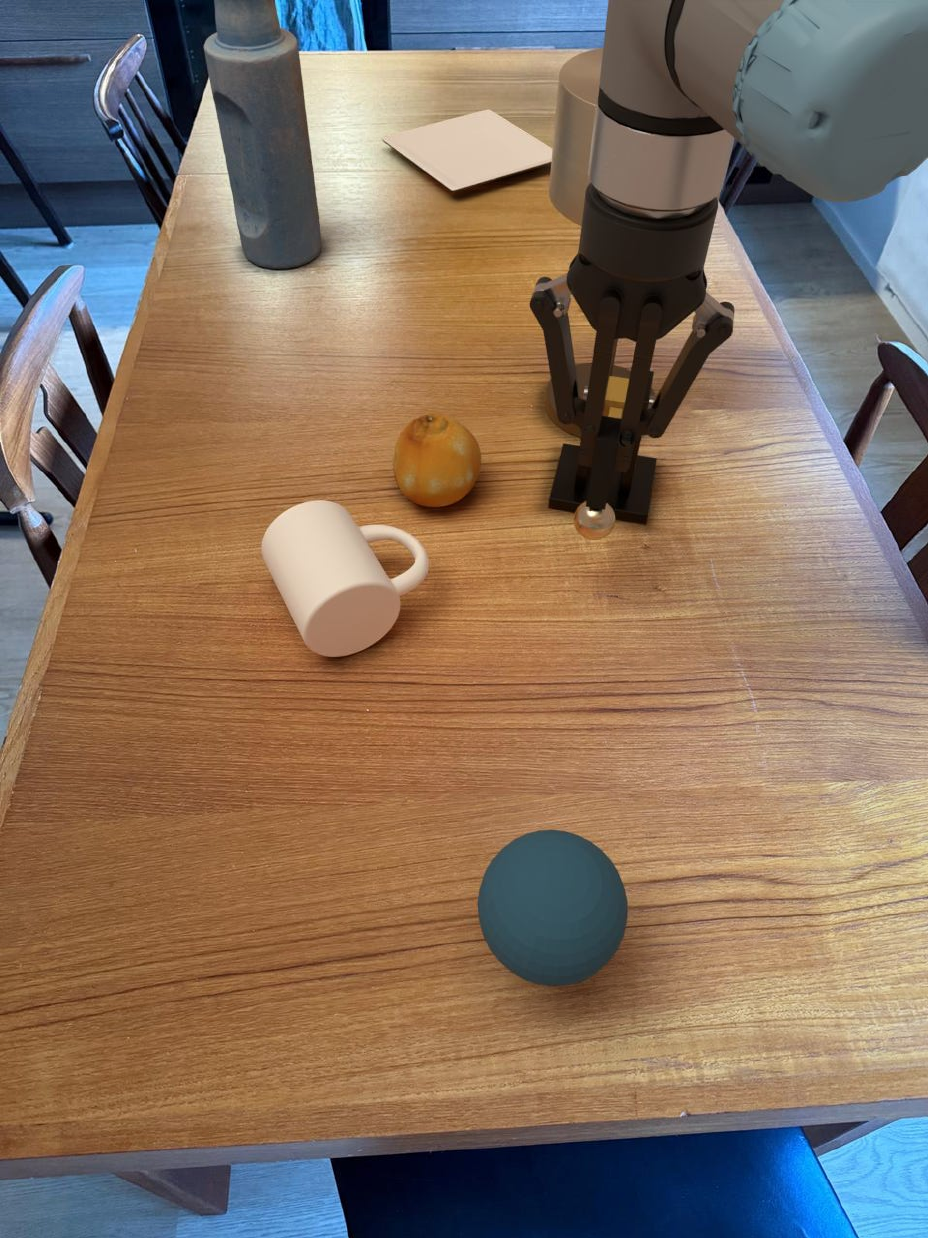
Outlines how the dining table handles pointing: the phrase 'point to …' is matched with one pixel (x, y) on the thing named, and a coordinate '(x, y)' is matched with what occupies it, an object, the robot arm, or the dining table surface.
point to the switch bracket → (625, 488)
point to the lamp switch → (602, 521)
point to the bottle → (264, 133)
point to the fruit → (436, 460)
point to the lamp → (575, 174)
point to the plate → (470, 150)
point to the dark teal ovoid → (552, 908)
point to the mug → (337, 576)
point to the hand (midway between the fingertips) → (597, 495)
